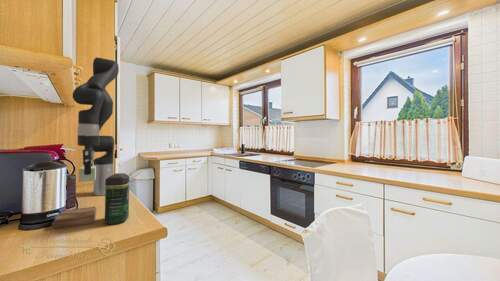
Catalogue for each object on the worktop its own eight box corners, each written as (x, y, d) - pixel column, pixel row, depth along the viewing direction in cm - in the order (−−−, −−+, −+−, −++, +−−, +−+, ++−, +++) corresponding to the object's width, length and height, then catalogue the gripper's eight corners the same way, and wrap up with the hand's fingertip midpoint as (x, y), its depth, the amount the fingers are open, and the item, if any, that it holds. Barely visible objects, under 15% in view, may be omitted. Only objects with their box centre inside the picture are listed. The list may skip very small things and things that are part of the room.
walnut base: (59, 218, 84) (59, 211, 84) (96, 212, 90) (96, 206, 90) (51, 230, 74) (51, 221, 73) (94, 222, 80) (94, 215, 80)
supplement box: (76, 208, 95) (76, 173, 95) (66, 212, 90) (66, 175, 90) (59, 207, 96) (59, 173, 96) (48, 211, 91) (48, 175, 91)
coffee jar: (126, 223, 80) (127, 175, 80) (102, 226, 77) (102, 176, 77) (130, 214, 89) (131, 171, 89) (108, 216, 86) (109, 172, 86)
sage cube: (80, 178, 92) (80, 166, 91) (95, 177, 95) (96, 165, 94) (78, 182, 87) (78, 169, 87) (94, 180, 90) (95, 168, 90)
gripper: (80, 134, 94) (80, 171, 95) (74, 134, 82) (74, 177, 83) (100, 134, 98) (100, 170, 99) (98, 135, 86) (97, 175, 87)
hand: (88, 173), depth 91 cm, fingers closed on sage cube, 5 cm apart
